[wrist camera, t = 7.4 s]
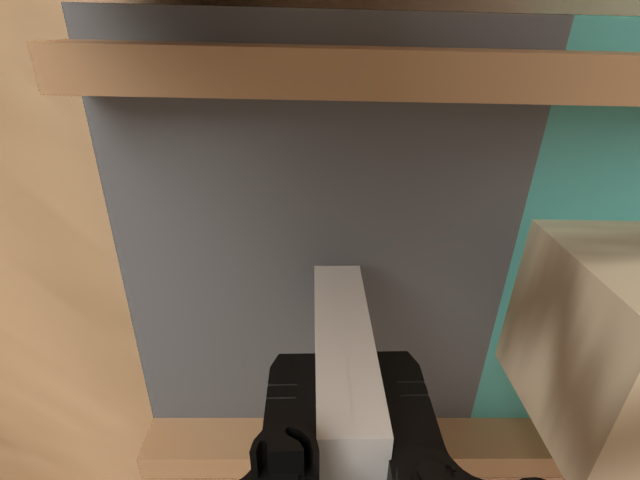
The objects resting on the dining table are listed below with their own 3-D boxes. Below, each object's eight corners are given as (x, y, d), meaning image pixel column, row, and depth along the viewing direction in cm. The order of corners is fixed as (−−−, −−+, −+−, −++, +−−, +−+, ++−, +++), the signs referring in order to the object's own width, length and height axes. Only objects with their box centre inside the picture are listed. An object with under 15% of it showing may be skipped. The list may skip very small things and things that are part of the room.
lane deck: (108, 5, 14) (15, -2, 10) (1033, 28, 15) (1339, 31, 10) (178, 398, 22) (145, 492, 18) (774, 399, 23) (884, 489, 19)
